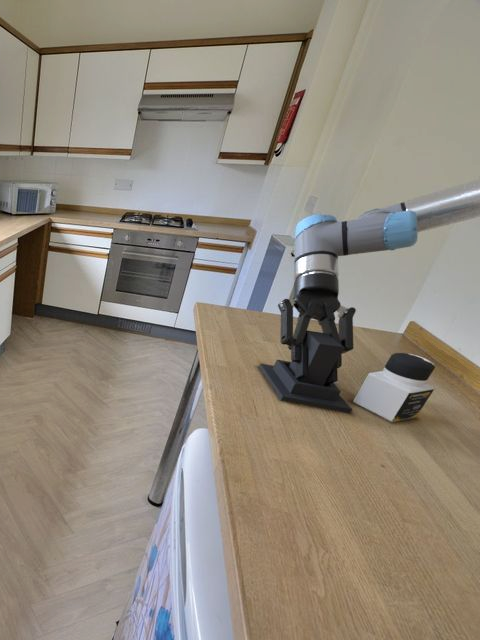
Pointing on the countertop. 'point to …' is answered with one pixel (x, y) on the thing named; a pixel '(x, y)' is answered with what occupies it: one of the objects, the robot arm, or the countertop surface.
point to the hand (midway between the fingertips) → (315, 379)
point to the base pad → (302, 389)
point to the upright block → (318, 357)
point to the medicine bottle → (397, 387)
